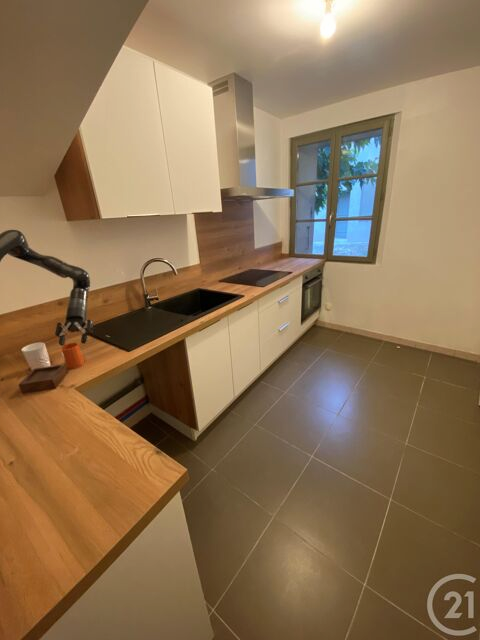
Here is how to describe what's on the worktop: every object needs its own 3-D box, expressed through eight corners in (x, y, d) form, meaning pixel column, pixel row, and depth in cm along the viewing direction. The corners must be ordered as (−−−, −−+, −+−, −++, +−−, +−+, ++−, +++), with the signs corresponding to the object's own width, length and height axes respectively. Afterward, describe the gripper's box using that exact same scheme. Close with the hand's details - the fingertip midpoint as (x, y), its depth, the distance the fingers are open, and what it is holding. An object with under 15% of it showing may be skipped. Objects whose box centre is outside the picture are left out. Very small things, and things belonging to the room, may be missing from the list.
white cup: (32, 374, 106) (23, 353, 102) (28, 368, 111) (19, 347, 107) (54, 366, 111) (46, 345, 108) (49, 360, 116) (42, 340, 113)
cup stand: (22, 393, 94) (18, 384, 93) (37, 377, 104) (34, 368, 103) (55, 388, 96) (52, 379, 94) (67, 372, 106) (64, 364, 105)
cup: (64, 370, 108) (57, 350, 105) (70, 362, 114) (63, 343, 111) (81, 367, 109) (75, 348, 106) (86, 359, 115) (80, 341, 112)
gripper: (97, 312, 121) (94, 345, 115) (65, 315, 120) (60, 348, 114) (89, 305, 114) (85, 339, 108) (55, 308, 113) (49, 343, 107)
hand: (72, 344), depth 111 cm, fingers open, 8 cm apart
